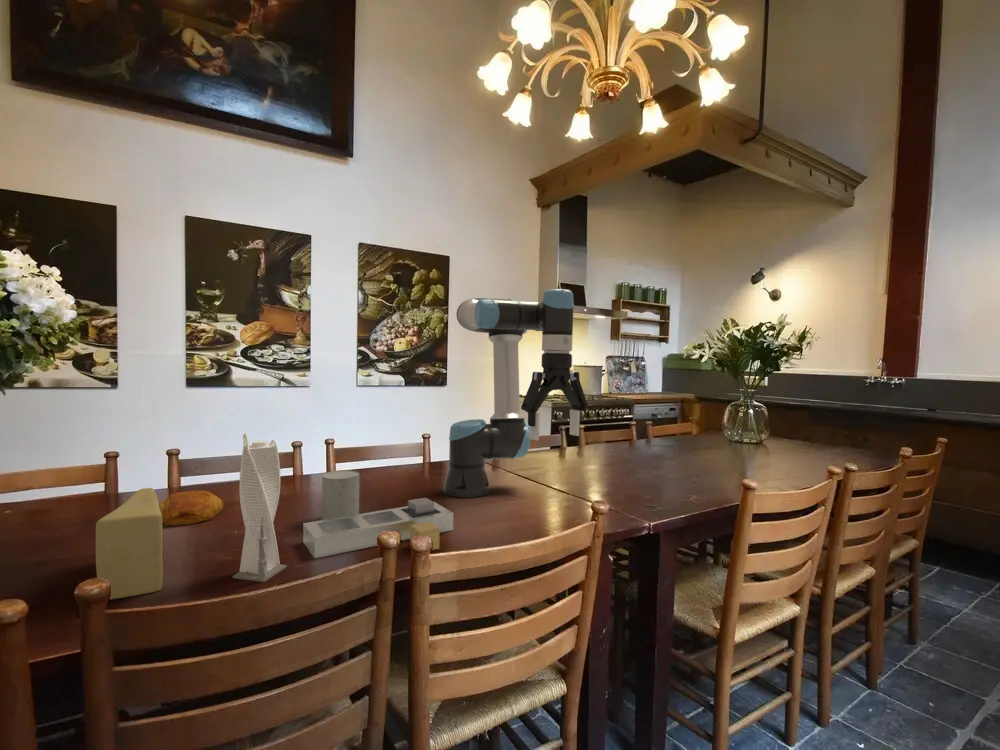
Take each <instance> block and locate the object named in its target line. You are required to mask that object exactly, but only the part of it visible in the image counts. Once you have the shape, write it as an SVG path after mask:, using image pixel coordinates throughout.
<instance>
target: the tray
mask: <svg viewBox="0 0 1000 750" xmlns="http://www.w3.org/2000/svg"><path fill="white" fill-rule="evenodd" d="M425 522H431V523H433V524H435V525H436V526H438V527H439V528H440V534H441V533H446V532H451V531H453V530H454V512H453V511H451V510H449V509H447V508H446V507H444V506H442V505H440V504H439V503H437V502H436V501H432V500H431V499H429V498H427V497H422V498H415V499H409V500H407V506H401V507H395V508H389V509H387V508H386V509H383V510H376V511H371V512H363V513H359V514H357V515H351V516H345V517H339V518H332V519H326V520H322V519H320V520H316V521H309V522H303V524H302V525H303V527H302V528H303V530H302V531H303V532H302V533H303V535H302V536H303V538H302V539H303V541H302V542H303V544H304V545H305V547H306V548H307V550H308V551H309V552H310V554H311V556H312V557H313V558H314V559H320V558H325V557H330V556H333V555H339V554H344V553H348V552H352V551H357V550H362V549H363V550H364V549H368V548H374V547H378V546H379V545H377V537H378V535H379V534H380V533H381V532H383V531H389V530H390V531H396V532H398V533H400V535H401V540H402V541H401V542H403V541H407V540H410V529H411V525H414V524H420V523H425Z"/></svg>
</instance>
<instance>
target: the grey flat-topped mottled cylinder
mask: <svg viewBox="0 0 1000 750" xmlns="http://www.w3.org/2000/svg"><path fill="white" fill-rule="evenodd" d="M360 474H361V473H360V472H359V471H356V470H349V469H345V470H344V469H343V470H341V469H339V470H333V471H327V472H324V473H323V474H322V475H321V478H322V479H321V480H322V485H321V486H322V487H321V488H322V489H321V490H322V491H321V492H322V495H321V496H322V497H321V498H322V499H321V501H322V502H321V503H322V508H321V511H322V512H321V520H326V519H332V518H339V517H345V516H351V515H357V514H360Z"/></svg>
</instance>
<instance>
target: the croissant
mask: <svg viewBox="0 0 1000 750" xmlns="http://www.w3.org/2000/svg"><path fill="white" fill-rule="evenodd" d="M159 508H160V511H161V514H162V524H164V525H165V526H167V527H168V526H170V527H171V526H173V527H174V526H185V525H186V526H187V525H193V524H194V525H195V524H198V523H202V522H205V521H211V520H214V518H215V517H217V515H219V514H220V512H221V511H222V509H223V508H224V501H223V499H221V498H219V497H218V496H217V495H215V494H213V493H212V492H210V491H206V490H202V489H200V490H199V489H198V490H188V491H180V492H178V491H177V492H174V493H171V494H169V496H168V497H167V498H165V499H164V500H162V502H160V503H159Z"/></svg>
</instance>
